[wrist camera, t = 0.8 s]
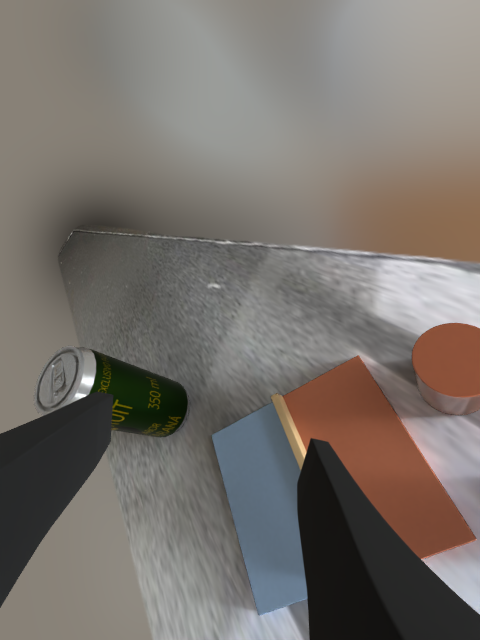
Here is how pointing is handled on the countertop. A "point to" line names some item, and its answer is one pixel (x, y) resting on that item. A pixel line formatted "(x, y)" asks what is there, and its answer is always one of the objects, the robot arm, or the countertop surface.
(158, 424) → the green drink can
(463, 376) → the orange cylinder
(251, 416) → the board
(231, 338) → the countertop surface
